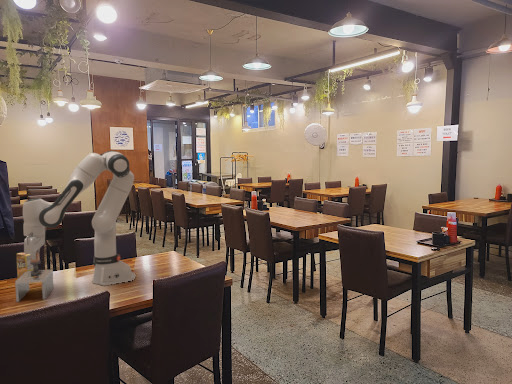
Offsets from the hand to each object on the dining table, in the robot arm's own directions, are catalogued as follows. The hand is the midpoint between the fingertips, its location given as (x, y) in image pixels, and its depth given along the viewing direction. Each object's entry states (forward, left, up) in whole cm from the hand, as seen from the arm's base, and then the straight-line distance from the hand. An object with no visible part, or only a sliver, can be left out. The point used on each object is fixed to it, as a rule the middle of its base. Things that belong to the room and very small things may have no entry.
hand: (35, 258), depth 176 cm
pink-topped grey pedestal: (0, 0, -9) cm, 9 cm away
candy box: (+11, -20, -18) cm, 29 cm away
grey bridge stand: (0, +3, -18) cm, 18 cm away
